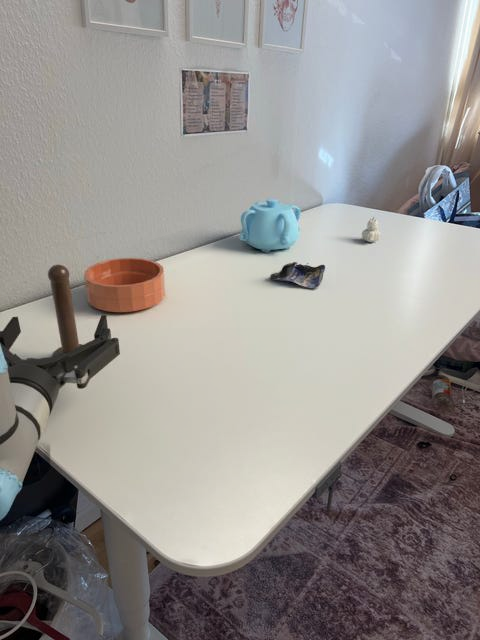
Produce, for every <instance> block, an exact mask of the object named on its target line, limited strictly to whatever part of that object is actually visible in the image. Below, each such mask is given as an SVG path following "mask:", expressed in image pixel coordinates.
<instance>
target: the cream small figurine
mask: <svg viewBox="0 0 480 640" xmlns="http://www.w3.org/2000/svg"><path fill="white" fill-rule="evenodd" d="M378 227H379V222H378V220H377V218H375V215H373V217H372V218H369V220H368V222H367V224H366V229H364V230H362V232H361V239H362V240H364V241H365V242H367V243H376V242H377V241H379V240H380V238H381V232H380V231H379V229H378Z"/></svg>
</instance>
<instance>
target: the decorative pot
mask: <svg viewBox="0 0 480 640" xmlns="http://www.w3.org/2000/svg"><path fill="white" fill-rule="evenodd" d="M265 201H266V202H262V201H257V202H255V203H254V204H252V205H251V206H250V208H249V209H247V210H246V211H243V213H242V214H241V215H240V224H241V232H239V234H238V238H239V240H240V241H242V242H245V243H247V244H248V245H249V246H250V247H253V248H255V249H258V250H260V251H261V252H263V253H269V252H271V250H281V249H282V250H289V249H290V247H292V246H294V245H296V242H297V241H298V240H299V239H300V231H301V228H300V225H299V221H300V218H301V209H300V208H299V207H298V206H296V205H294V204H290V205H289V204H286V203H283V202H279V199H277V198H267V199H266V200H265ZM294 210H295V212H294Z"/></svg>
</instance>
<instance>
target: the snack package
mask: <svg viewBox="0 0 480 640" xmlns="http://www.w3.org/2000/svg"><path fill="white" fill-rule="evenodd" d="M308 264H309V262H307V263H306V264H304V265H303V264H301V263H299V264H298V262H297V261H293V262H289V263H286V264H284V265H283V266H282V268H281V270H280V271H279V272H275V273H274V272H273V273H271V274H270V280H272V281H274V280H275V281H281V282H292V283H294V284H297V285H299V286H301V287H305V288H307V289H308V288H311V289H313V288H314V289H316V290H318V288H319V287H320V285H321V284H322V281H323V279H324V273H325V270H326V265H325V264H320V265H317V266H311V265H308Z"/></svg>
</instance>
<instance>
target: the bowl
mask: <svg viewBox="0 0 480 640" xmlns="http://www.w3.org/2000/svg"><path fill="white" fill-rule="evenodd" d="M83 279H84V286H85V291H86V292H85V293H86V301H87V302H88V303H89V305H90V306H91V307H93V308H96V309H97V310H101V311H104V312H109V313H110V312H111V313H112V312H113V313H132V312H136V311H137V312H138V311H141V310H145V309H149V308H151V307H153V306H156V305H157V304H158V303H160V302H162V301H163V299H164V298H165V296H166V287H165V286H166V285H165V270H164V266H163V265H162V264H160V263H159V262H157V261H155V260H152V259H147V258H141V257H140V258H139V257H120V258H119V257H117V258H113V259H107V260H103V261H100V262H96V263H94V264H92V265H90V266H89V267H88V268H87V269H85V271H84V274H83Z"/></svg>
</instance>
